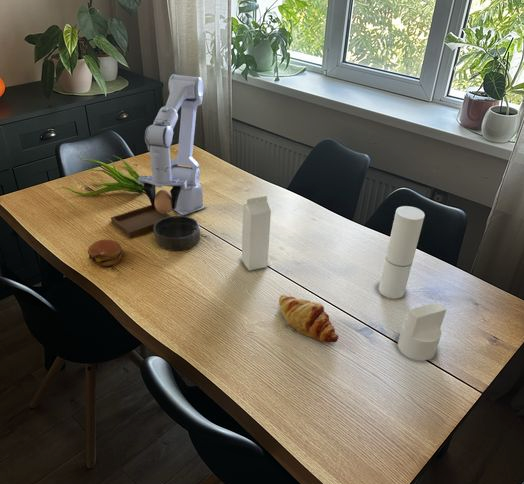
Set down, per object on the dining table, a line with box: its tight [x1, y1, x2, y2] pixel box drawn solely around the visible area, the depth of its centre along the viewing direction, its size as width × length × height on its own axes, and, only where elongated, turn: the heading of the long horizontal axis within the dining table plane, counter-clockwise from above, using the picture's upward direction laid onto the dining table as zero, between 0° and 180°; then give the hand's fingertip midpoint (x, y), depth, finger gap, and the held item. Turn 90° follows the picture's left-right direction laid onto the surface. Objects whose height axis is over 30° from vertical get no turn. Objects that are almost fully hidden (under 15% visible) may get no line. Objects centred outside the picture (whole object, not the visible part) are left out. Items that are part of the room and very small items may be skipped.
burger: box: [87, 238, 124, 267], centre depth 146 cm, size 10×9×5 cm
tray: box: [110, 204, 172, 239], centre depth 165 cm, size 16×12×2 cm
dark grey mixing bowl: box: [152, 215, 201, 251], centre depth 157 cm, size 14×14×4 cm
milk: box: [241, 195, 272, 271], centre depth 142 cm, size 6×6×22 cm
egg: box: [154, 189, 173, 214], centre depth 154 cm, size 6×6×8 cm
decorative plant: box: [53, 155, 144, 196], centre depth 177 cm, size 18×30×15 cm, turn 70°
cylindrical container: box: [378, 205, 426, 299], centre depth 133 cm, size 7×7×25 cm
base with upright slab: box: [397, 301, 447, 362], centre depth 119 cm, size 9×9×12 cm
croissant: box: [278, 294, 339, 343], centre depth 126 cm, size 21×10×8 cm, turn 39°
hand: (164, 206), depth 155 cm, fingers closed on egg, 6 cm apart
